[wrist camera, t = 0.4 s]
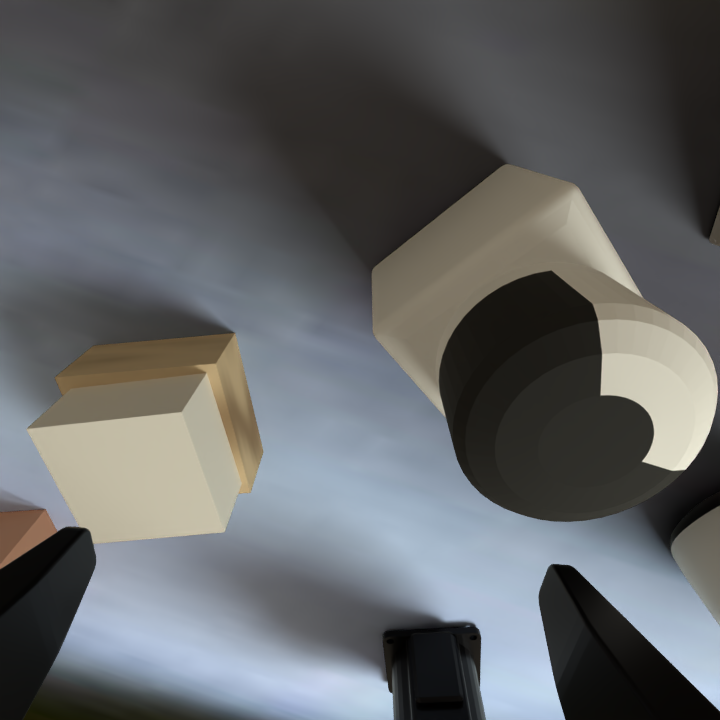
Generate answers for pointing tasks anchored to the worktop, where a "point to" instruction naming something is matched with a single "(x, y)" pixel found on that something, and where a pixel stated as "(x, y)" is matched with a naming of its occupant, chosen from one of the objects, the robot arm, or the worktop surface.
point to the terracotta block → (22, 532)
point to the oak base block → (179, 360)
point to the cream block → (141, 458)
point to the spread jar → (700, 551)
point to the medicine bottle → (543, 352)
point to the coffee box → (716, 231)
